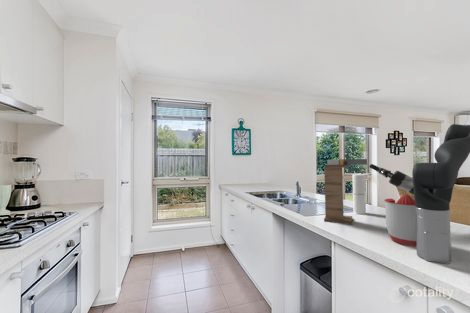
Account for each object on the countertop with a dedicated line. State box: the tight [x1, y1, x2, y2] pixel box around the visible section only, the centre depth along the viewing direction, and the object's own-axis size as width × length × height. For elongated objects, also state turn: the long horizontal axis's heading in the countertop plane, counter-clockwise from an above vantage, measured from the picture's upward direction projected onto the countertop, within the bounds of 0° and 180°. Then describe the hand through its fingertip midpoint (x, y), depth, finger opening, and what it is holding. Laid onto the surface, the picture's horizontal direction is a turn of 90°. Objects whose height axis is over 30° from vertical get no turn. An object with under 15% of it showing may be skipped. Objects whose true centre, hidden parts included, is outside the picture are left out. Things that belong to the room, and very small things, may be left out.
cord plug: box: [326, 158, 368, 166], centre depth 130 cm, size 20×5×3 cm, turn 62°
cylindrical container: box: [351, 173, 367, 215], centre depth 149 cm, size 7×7×25 cm
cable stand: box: [323, 161, 353, 225], centre depth 132 cm, size 13×14×34 cm
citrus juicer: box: [384, 193, 417, 247], centre depth 97 cm, size 16×17×20 cm
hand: (370, 165), depth 125 cm, fingers open, 8 cm apart
